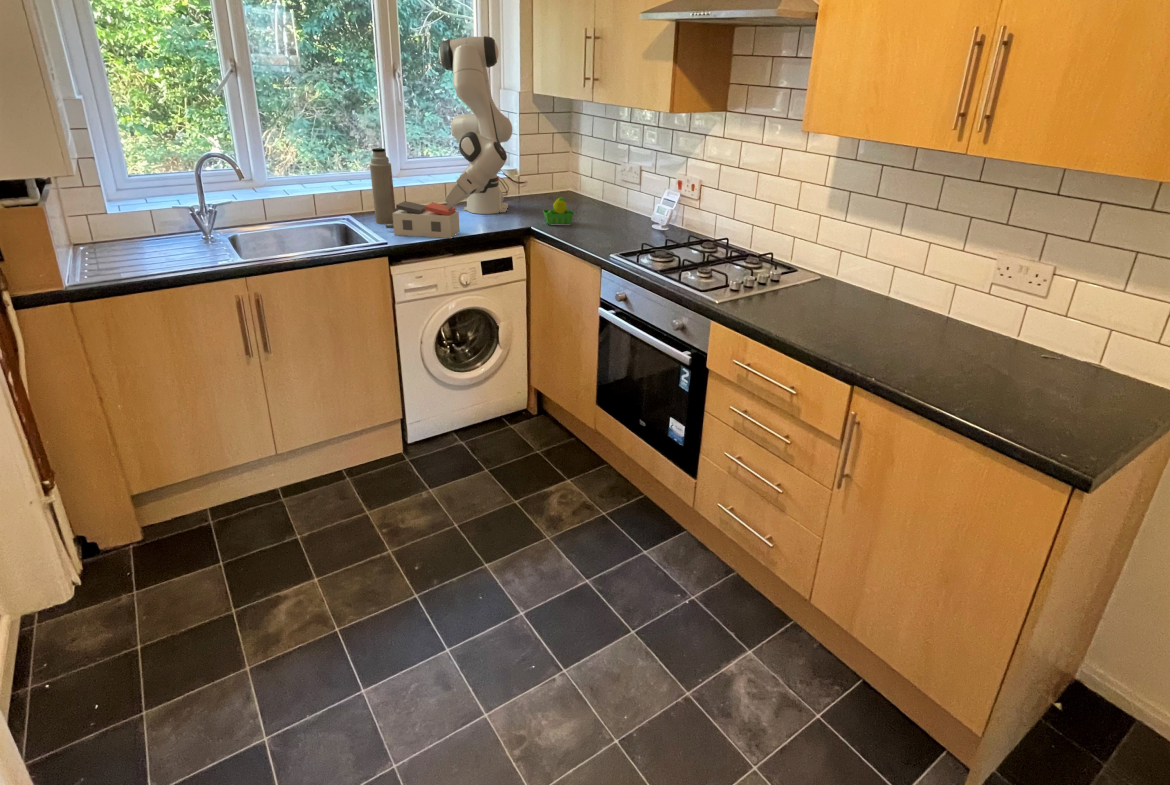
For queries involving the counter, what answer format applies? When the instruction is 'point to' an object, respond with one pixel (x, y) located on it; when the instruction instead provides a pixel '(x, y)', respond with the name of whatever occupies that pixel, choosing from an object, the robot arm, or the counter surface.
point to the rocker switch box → (425, 224)
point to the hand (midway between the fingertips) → (448, 207)
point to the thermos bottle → (382, 187)
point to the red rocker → (439, 209)
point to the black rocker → (411, 207)
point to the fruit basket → (558, 213)
